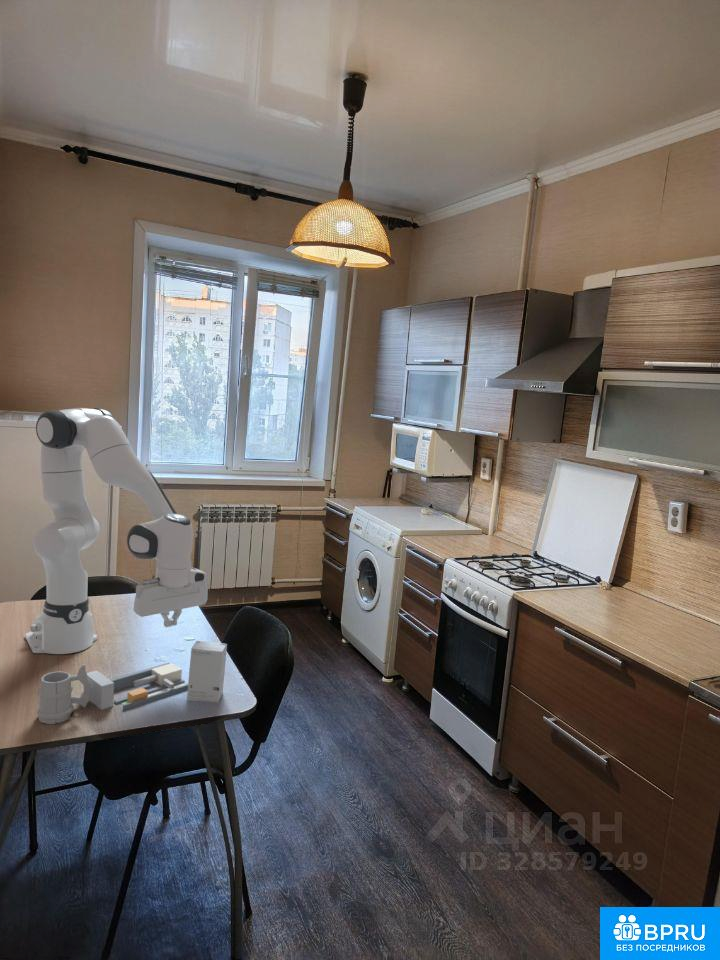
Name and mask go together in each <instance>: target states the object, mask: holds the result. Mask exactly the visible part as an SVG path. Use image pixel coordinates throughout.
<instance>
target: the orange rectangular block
mask: <svg viewBox="0 0 720 960" xmlns="http://www.w3.org/2000/svg"><path fill="white" fill-rule="evenodd" d="M147 690H148V689H145V688H144V687H139V688H136V689H133V690H130V691H127V696H126V697H127V701H128V702H129V703H130V702H133V701H136V700H139V699H142V698H145V697H148V691H147Z"/></svg>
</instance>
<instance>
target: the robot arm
mask: <svg viewBox="0 0 720 960" xmlns="http://www.w3.org/2000/svg"><path fill="white" fill-rule="evenodd" d="M35 431H36V432H35V433H36V435H37V439H38V441H39V442H40V443H41V450H40V474H41V482H42V483H41V485H42V493H43V495H42V496H43V499H44V501H45V502H46V503H47V504H48V505H49V507H50V508H51V510H52V514H53V515H54V516H53V517H54V521H51V522H49V523H47V524H45V525H44V526H43V527H41V528H40V529H39V530H37V532H35V534H34V536H33V538H32V548H33V550H34V552H35V554H36V556H38V557H39V558H40V559H41V560H42V564H43V567H44V570H45V577H46V598H45V599H44V600H45V601H44V603H43V609H42V612H41V613H40V614H39V615H38V616H36V617H35V618H34V621H33V624H30V627H29V628H30V631H29V632H26V633H25V635H24V639H25V640H26V643H27V644H28V646H29V647H30V650H31V651H32V653H34V654H51V655H67V654H68V655H69V654H73V653H79V652H82V651H85V650H86V649H89V648H90V647H92V645H93V643H94V642H95V641H97V640H98V635H97V634H95V633H94V619H93V618H94V616H93V614H92V613H91V612H90V611H89V608H90V599H89V597H88V583H89V582H88V581H89V580H88V579H89V578H88V577H89V574H88V572H87V571H86V570H85V569H84V567H83V563H82V560H81V552H82V551H84V550H85V549H88V548H89V547H90V546H92V545H93V544H94V543H95V542H96V541H97V539H98V538H99V536H100V534H101V527H100V523H99V521H98V520H97V519H96V517H94V516H93V514H92V511H91V509H90V506H89V503H88V500H87V495H86V489H85V478H84V477H85V476H84V466H83V459H82V458H83V456H82V454H83V451H84V450H86V451H87V454H88V457H89V460H90V461H91V462H90V463H91V464H92V466H93V469H94V470H95V473H96V474H97V476H98V477H99V479H101V481H102V482H104V483H106V484H107V485H109V486H113V487H116V488H119V489H120V488H121V489H124V490H127V491H129V492H132V493H133V494H136V495H137V496H138V497H139V498H140V499H141V500H142V501H143V503H144V505H145V506H146V508H147V510H148V512H149V513H150V514H151V516H152V519H153V520H151V521H146V522H142V523H138V524H136V525H133V526H131V528H130V530H129V531H128V532H127V536H126V537H127V538H126V543H127V548H128V550H129V552H130V554H131V556H132V555H133V556H134V557H135V558H137V559H139V560H142V559H143V560H148V559H149V560H150V559H151V560H152V559H153V560H156V572H155V577H154V578H150V579H143V580H141V582H138V583H137V584H136V586H135V587H136V588H135V597H134V603H133V612H134V613H135V614H136V615H137V616H139V617H141V618H142V617H149V616H153V615H159V614H160V616H161V617H162V619H163V626H164V627H165V628H169V627H170V628H171V627H174V626H177V624H178V619H179V617H180V616H181V614H182V613H183V612H182V611H183V610H184V609H189V608H194V607H199V606H204V605H205V604H206V603H207V601H208V596H209V595H208V594H209V593H208V592H209V589H208V588H209V586H208V582H207V581H206V580H207V579H208V573H206V572H205V571H202V570H201V569H199V568H195V567H192V560H191V554H192V552H193V546H194V529H193V523H192V521H191V519H190V518H188V516H185V515H183V514H181V513H177V512H176V510H175V509H174V507H173V506H172V504H171V502H170V500H169V499H168V497H167V496H166V494H165V492H164V490H163V488H162V487H161V485H160V484H159V482H158V481H157V479H156V477H155V476H154V475H153V473H152V472H151V471H150V470H149V469H148V468H147V467H146V466H144V464H143V463H142V462H141V461H140V459H139V458H138V456H137V455H136V453H135V451H134V449H133V447H132V445H131V443H130V441H129V439H128V437H127V435H126V434H125V432H124V431H123V428H122V427H121V426H120V424H119V422H117V420H116V419H115V418H114V416H113V414H112V413H111V412H110V411H108V410H106V409H102V408H96V407H95V408H89V407H88V408H86V407H74V408H67V409H60V410H59V409H52V410H48V411H45V412H43V413H41V414H40V415H39V417H38V418H37V421H36V425H35ZM170 612H173V614H172V616H171V617H169V615H170Z"/></svg>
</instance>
